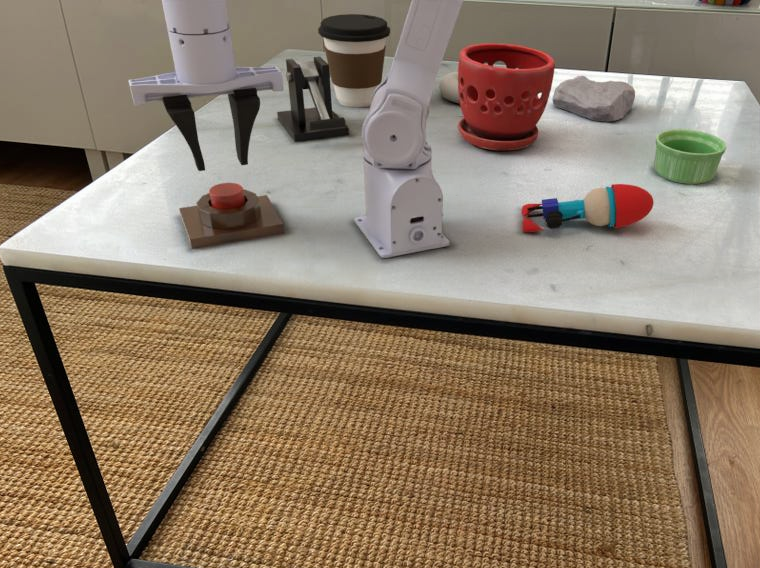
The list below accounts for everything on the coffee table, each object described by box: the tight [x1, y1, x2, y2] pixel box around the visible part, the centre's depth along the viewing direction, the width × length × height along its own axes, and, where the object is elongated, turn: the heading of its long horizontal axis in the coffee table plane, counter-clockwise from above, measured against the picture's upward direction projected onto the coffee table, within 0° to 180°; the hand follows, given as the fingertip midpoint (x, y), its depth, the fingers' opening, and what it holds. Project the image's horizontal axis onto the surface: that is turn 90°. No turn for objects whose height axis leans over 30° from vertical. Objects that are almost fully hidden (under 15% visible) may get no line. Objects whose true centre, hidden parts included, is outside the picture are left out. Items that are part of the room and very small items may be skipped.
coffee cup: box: [317, 13, 391, 108], centre depth 112 cm, size 11×11×12 cm
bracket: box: [276, 56, 350, 143], centre depth 103 cm, size 10×8×9 cm
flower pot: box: [457, 42, 556, 152], centre depth 101 cm, size 13×13×12 cm
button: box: [208, 182, 245, 210], centre depth 79 cm, size 4×4×2 cm
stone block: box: [552, 75, 636, 123], centre depth 116 cm, size 12×5×10 cm
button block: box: [178, 188, 286, 250], centre depth 80 cm, size 10×8×3 cm
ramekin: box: [653, 128, 727, 185], centre depth 96 cm, size 9×9×4 cm
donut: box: [438, 70, 460, 105], centre depth 118 cm, size 10×4×10 cm
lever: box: [297, 60, 347, 131], centre depth 100 cm, size 11×5×2 cm, turn 24°
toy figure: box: [521, 183, 655, 233], centre depth 83 cm, size 8×5×15 cm
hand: (221, 164), depth 77 cm, fingers open, 4 cm apart
